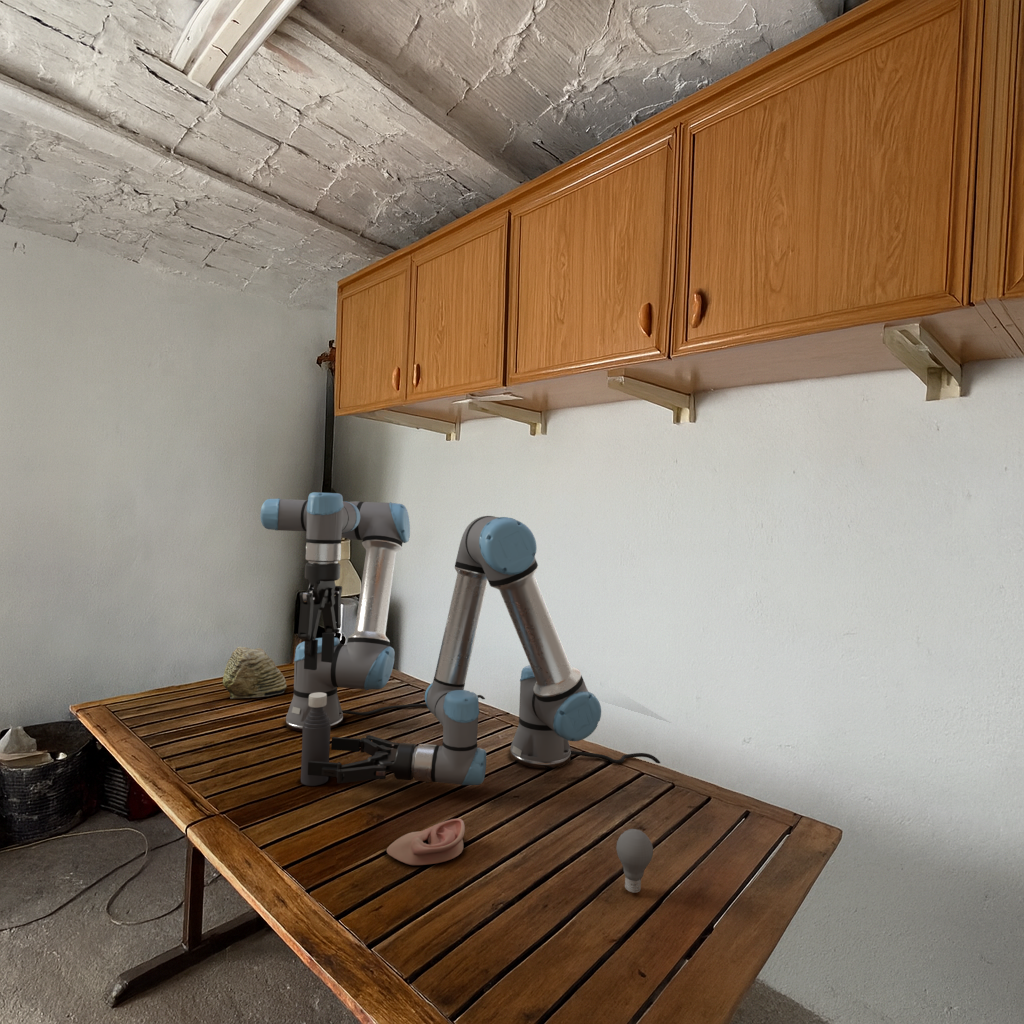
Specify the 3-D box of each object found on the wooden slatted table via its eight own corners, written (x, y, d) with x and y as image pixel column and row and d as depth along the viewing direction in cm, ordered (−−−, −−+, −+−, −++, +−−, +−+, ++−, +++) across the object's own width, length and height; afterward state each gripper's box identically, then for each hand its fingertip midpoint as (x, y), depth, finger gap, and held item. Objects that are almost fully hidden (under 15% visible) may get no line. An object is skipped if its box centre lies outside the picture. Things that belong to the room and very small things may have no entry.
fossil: (218, 695, 195) (220, 647, 195) (278, 685, 208) (279, 640, 207) (228, 703, 189) (230, 653, 188) (289, 692, 201) (290, 645, 201)
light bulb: (610, 879, 108) (613, 822, 108) (644, 879, 109) (647, 822, 109) (619, 902, 102) (622, 840, 102) (655, 901, 103) (658, 840, 103)
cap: (329, 703, 143) (330, 693, 142) (320, 708, 139) (320, 698, 139) (314, 701, 144) (315, 691, 143) (304, 706, 140) (305, 696, 140)
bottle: (333, 776, 144) (336, 694, 143) (319, 787, 138) (322, 702, 138) (310, 772, 145) (313, 691, 145) (295, 783, 139) (298, 699, 139)
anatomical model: (380, 837, 111) (404, 807, 122) (379, 860, 111) (403, 827, 122) (452, 849, 108) (470, 817, 120) (451, 872, 108) (469, 838, 120)
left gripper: (331, 557, 151) (327, 654, 151) (282, 564, 132) (277, 674, 133) (359, 559, 149) (355, 657, 149) (313, 567, 130) (309, 678, 131)
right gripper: (399, 806, 126) (296, 798, 128) (426, 756, 151) (339, 749, 153) (401, 769, 126) (298, 761, 128) (427, 725, 151) (341, 718, 152)
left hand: (319, 665), depth 141 cm, fingers open, 6 cm apart
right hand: (320, 754), depth 140 cm, fingers open, 13 cm apart
